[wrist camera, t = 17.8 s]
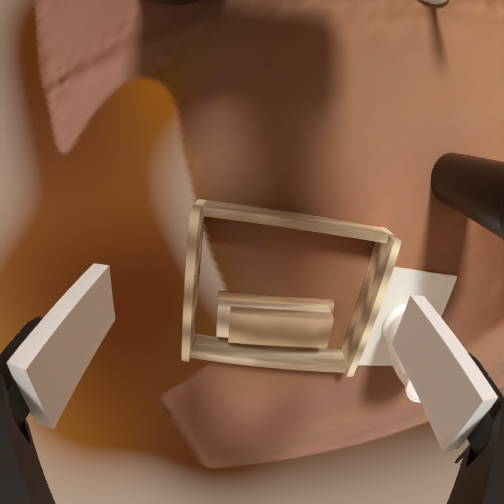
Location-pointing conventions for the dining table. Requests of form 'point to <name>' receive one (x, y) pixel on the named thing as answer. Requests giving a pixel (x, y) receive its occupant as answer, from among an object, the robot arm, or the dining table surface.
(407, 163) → the dining table surface
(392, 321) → the jar
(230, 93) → the dining table surface
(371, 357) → the mat
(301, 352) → the rack
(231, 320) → the offcut stack
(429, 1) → the chess piece
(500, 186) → the water bottle
